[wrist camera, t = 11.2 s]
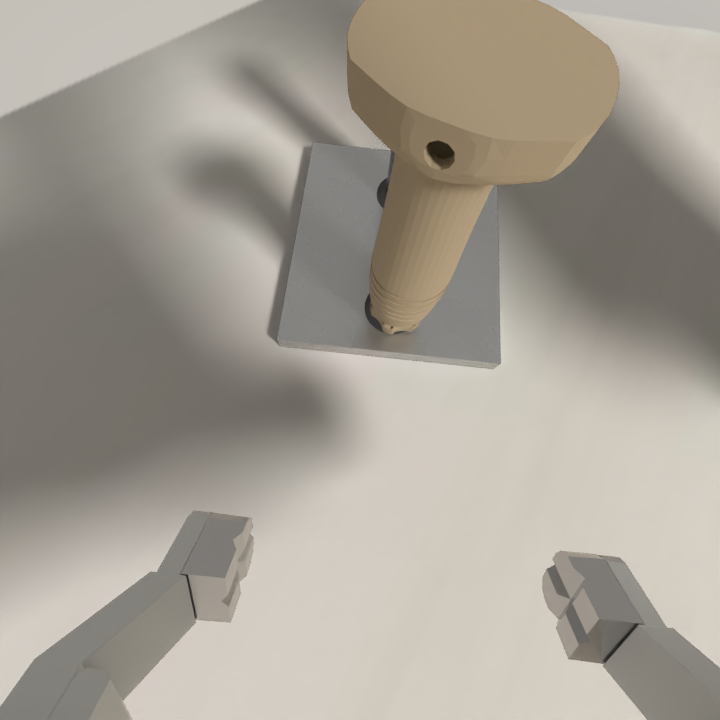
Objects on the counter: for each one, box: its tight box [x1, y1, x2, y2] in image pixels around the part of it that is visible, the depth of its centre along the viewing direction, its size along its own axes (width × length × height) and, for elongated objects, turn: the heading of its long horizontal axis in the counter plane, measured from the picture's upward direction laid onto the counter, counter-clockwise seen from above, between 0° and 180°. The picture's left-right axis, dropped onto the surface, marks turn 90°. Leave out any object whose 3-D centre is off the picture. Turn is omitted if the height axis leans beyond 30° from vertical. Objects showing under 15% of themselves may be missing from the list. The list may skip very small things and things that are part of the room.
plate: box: [277, 142, 501, 369], centre depth 25 cm, size 14×16×1 cm
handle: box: [347, 0, 619, 334], centre depth 15 cm, size 5×6×15 cm
